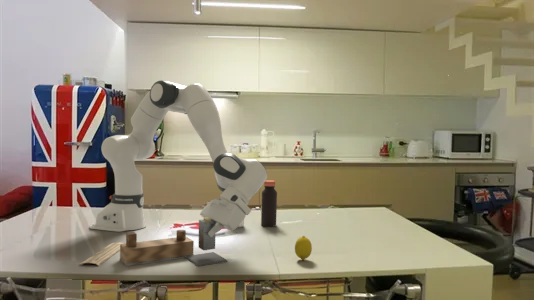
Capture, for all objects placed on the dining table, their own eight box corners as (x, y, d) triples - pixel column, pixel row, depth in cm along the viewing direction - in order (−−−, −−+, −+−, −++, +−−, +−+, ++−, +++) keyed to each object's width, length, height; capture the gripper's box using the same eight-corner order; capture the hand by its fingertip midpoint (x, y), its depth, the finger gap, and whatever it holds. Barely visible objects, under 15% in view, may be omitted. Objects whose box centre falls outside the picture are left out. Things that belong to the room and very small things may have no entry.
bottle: (267, 227, 185) (269, 182, 184) (257, 224, 190) (259, 180, 189) (279, 225, 189) (280, 181, 189) (269, 223, 195) (270, 179, 194)
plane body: (126, 266, 129) (126, 236, 128) (119, 259, 135) (120, 231, 134) (193, 256, 141) (194, 229, 140) (184, 250, 147) (185, 224, 146)
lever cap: (203, 250, 134) (204, 219, 133) (198, 247, 137) (198, 217, 137) (215, 248, 136) (215, 218, 136) (209, 245, 139) (210, 216, 139)
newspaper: (98, 268, 128) (98, 262, 128) (75, 267, 128) (75, 262, 128) (126, 247, 151) (126, 242, 151) (107, 246, 152) (107, 241, 151)
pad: (198, 266, 130) (198, 264, 130) (185, 258, 138) (185, 256, 138) (227, 261, 135) (227, 259, 135) (213, 253, 144) (213, 252, 144)
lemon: (293, 257, 142) (293, 234, 141) (309, 257, 142) (310, 234, 142) (295, 262, 136) (296, 238, 136) (312, 262, 137) (313, 238, 136)
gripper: (212, 190, 148) (186, 221, 143) (241, 199, 131) (212, 234, 126) (224, 202, 151) (198, 232, 146) (253, 212, 134) (225, 246, 129)
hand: (205, 233), depth 136 cm, fingers closed on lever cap, 4 cm apart
